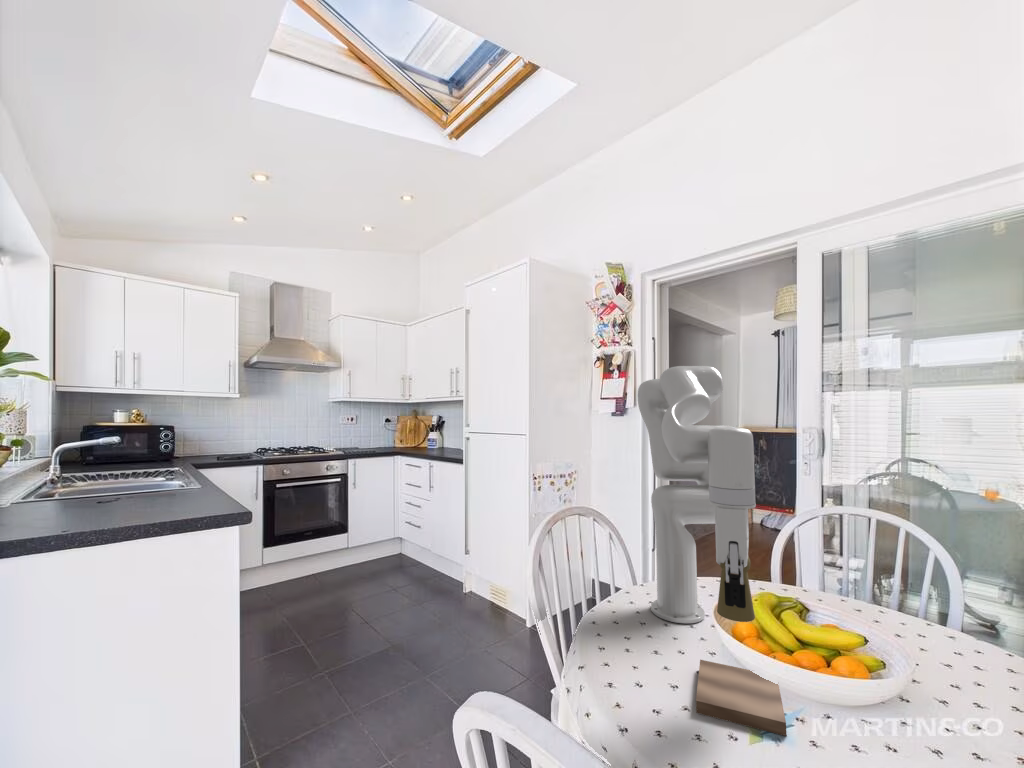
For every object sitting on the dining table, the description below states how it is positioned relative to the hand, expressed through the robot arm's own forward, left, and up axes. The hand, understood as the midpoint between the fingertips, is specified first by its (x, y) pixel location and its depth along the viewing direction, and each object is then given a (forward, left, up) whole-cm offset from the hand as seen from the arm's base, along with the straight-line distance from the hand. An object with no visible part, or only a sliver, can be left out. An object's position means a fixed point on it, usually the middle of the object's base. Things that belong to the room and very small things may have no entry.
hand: (735, 600), depth 81 cm
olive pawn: (0, 0, -3) cm, 3 cm away
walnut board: (0, 0, -17) cm, 17 cm away
